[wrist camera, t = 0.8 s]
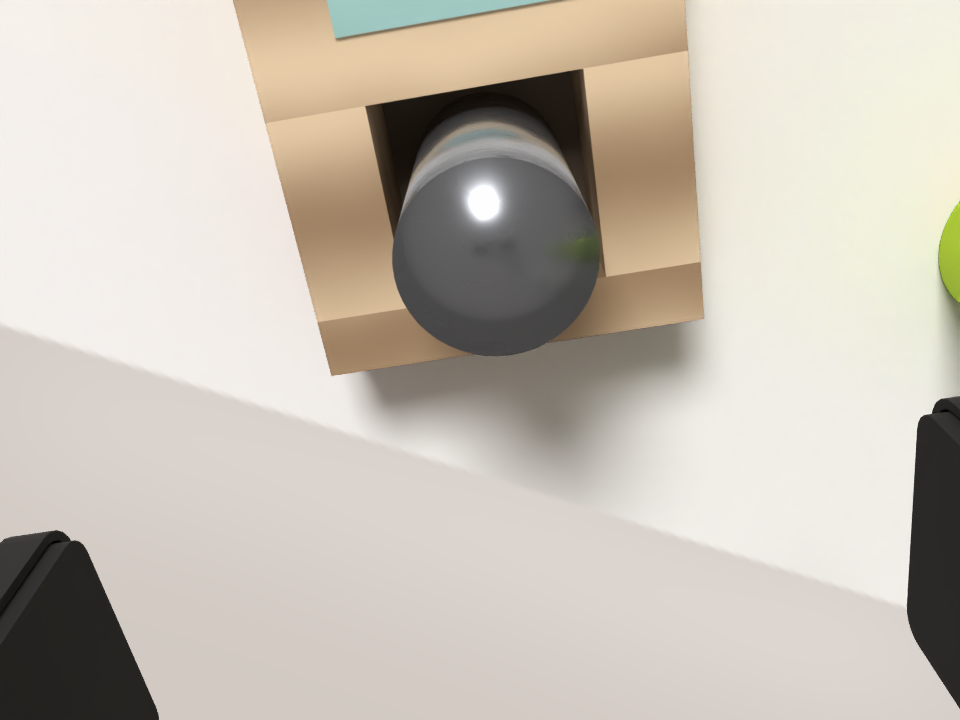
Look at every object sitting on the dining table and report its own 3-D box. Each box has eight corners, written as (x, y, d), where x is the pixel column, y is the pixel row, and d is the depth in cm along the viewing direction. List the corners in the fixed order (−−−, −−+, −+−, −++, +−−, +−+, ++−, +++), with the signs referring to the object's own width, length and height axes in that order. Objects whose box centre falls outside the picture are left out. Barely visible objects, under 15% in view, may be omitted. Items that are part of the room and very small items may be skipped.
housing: (676, 276, 31) (704, 319, 27) (347, 327, 32) (331, 377, 28) (631, -347, 24) (661, -402, 20) (201, -261, 24) (152, -299, 21)
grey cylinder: (567, 223, 30) (609, 339, 21) (431, 245, 30) (414, 369, 21) (550, 80, 28) (587, 140, 19) (403, 105, 28) (372, 176, 19)
